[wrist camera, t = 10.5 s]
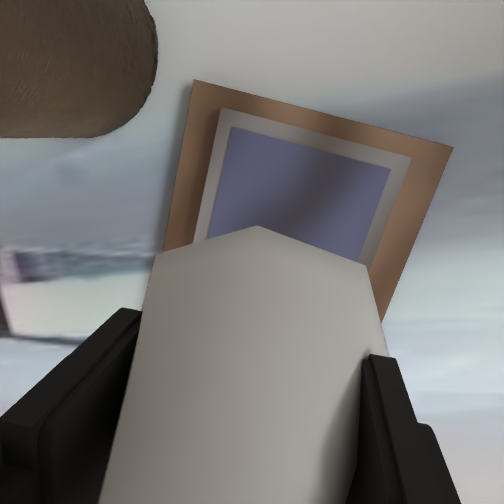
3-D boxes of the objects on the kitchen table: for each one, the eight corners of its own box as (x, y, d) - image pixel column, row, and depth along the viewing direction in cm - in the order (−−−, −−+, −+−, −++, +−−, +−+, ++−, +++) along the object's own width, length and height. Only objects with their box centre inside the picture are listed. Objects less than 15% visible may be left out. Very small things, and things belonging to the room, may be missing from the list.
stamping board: (447, 146, 21) (461, 148, 19) (315, 472, 29) (315, 497, 27) (199, 81, 22) (187, 76, 20) (136, 414, 30) (124, 434, 28)
